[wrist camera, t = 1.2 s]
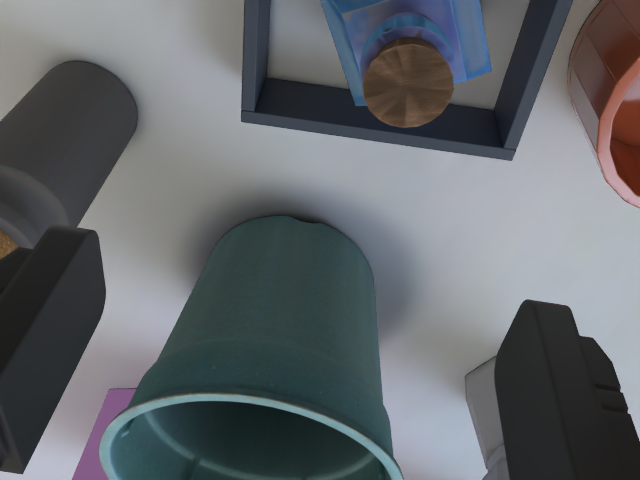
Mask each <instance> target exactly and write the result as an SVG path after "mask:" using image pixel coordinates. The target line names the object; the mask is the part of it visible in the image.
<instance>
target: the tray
mask: <svg viewBox="0 0 640 480" xmlns="http://www.w3.org/2000/svg"><path fill="white" fill-rule="evenodd" d="M572 2H573V0H531V1H530V4H529V7H528V10H527V13H526V16H525V19H524V22H523V25H522V28H521V31H520V34H519V37H518V40H517V43H516V46H515V49H514V52H513V55H512V58H511V61H510V64H509V67H508V70H507V73H506V76H505V79H504V82H503V85H502V88H501V91H500V94H499V96H498V99H497V102H496V105H495V108H494V111H491V110H484V109H477V108H470V107H464V106H457V105H450V104H448V105H447V106H446V108H445V109H444V111H443V112H442V113H441V114H440V115H438V116H437V117H436V118H435V119H433V120H432V121H430V122H428V123H425V124H423V125H420V126H417V127H408V128H402V127H396V126H391V125H389V124H387V123H385V122H383V121H381V120H379V119H378V118H377V117H376V116H375V115H374V114H373V113H372V112H371V111H370V110H369V108H368V106H355V103H354V100H353V97H352V94H351V91H350V90H346V89H339V88H332V87H325V86H319V85H312V84H305V83H298V82H291V81H284V80H277V79H270V78H266V74H267V56H268V39H269V21H270V4H271V0H245V2H244V36H243V70H242V104H241V109H242V110H241V122H246V123H253V124H260V125H267V126H274V127H281V128H288V129H295V130H302V131H308V132H315V133H322V134H329V135H336V136H343V137H350V138H357V139H364V140H371V141H378V142H385V143H392V144H399V145H405V146H412V147H419V148H426V149H433V150H440V151H447V152H454V153H461V154H468V155H475V156H482V157H489V158H496V159H502V160H509V161H512V159H513V157H514V154H515V152H516V149H517V146H518V144H519V141H520V138H521V136H522V133H523V131H524V128H525V125H526V123H527V120H528V118H529V115H530V112H531V110H532V107H533V104H534V102H535V99H536V97H537V94H538V91H539V89H540V86H541V83H542V81H543V78H544V76H545V73H546V70H547V68H548V65H549V63H550V60H551V57H552V55H553V52H554V49H555V47H556V44H557V42H558V39H559V36H560V34H561V31H562V28H563V26H564V23H565V21H566V18H567V15H568V13H569V10H570V8H571V5H572Z"/></svg>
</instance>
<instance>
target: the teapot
mask: <svg viewBox="0 0 640 480" xmlns="http://www.w3.org/2000/svg"><path fill="white" fill-rule="evenodd" d="M135 391H136V389H109V391H108V394H107V396H106V399H105V401H104V403H103V406H102V408H101V411H100V413H99V415H98V418H97V420H96V423H95V425H94V427H93V430H92V432H91V435H90V437H89V439H88V442H87V444H86V447H85V449H84V451H83V454H82V456H81V459H80V461H79V463H78V466H77V468H76V471H75V473H74V475H73V478H72V480H109V478H108V477H107V475H106V473H105V472H104V470H103V468H102V466H101V463H100V459H99V444H100V440H101V437H102V435H103V433H104V431H105V429H106V428H107V426H108V425H109V424H110V422H111V421H112V420H113V419H114V418H115V417H116V416H117V415H118V414H119V413H120V412H121V411H123V410H124V409H125V408H127V406H128V405H129V403H130V401H131V399H132V397H133V395H134V393H135Z"/></svg>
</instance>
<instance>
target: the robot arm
mask: <svg viewBox="0 0 640 480" xmlns="http://www.w3.org/2000/svg"><path fill="white" fill-rule="evenodd" d="M105 298H106V287H105V279H104V272H103V265H102V258H101V251H100V244H99V238H98V234H97V233H96V231H94V230H89V229H83V228H76V227H70V226H63V225H57V224H53V225H51V226H50V227H48V229H47V230H46V231H45V233H44V234H43V235H42V237H41V238H40V240H39V241H38V243H37V244H36V245H35V247H34V248H33V249H28V248H22V247H18V248H17V249H15V250H14V251H12V252H11V253H9V254H8V255H6V256H5V257H3V258H2V259H0V471H4V472H11V473H17V474H23V472H24V470H25V468H26V466H27V465H28V463H29V461H30V459H31V457H32V455H33V453H34V451H35V449H36V447H37V445H38V443H39V441H40V439H41V437H42V435H43V433H44V431H45V429H46V427H47V425H48V423H49V421H50V419H51V417H52V415H53V413H54V411H55V409H56V407H57V405H58V403H59V401H60V399H61V397H62V395H63V393H64V391H65V389H66V387H67V385H68V383H69V381H70V379H71V377H72V375H73V373H74V371H75V369H76V367H77V365H78V363H79V361H80V359H81V357H82V355H83V353H84V351H85V349H86V347H87V345H88V343H89V341H90V339H91V337H92V335H93V333H94V331H95V329H96V327H97V325H98V323H99V321H100V318H101V316H102V313H103V309H104V304H105ZM494 383H495V390H496V396H497V402H498V409H499V415H500V421H501V428H502V434H503V441H504V447H505V453H506V460H507V466H508V472H509V479H510V480H640V441H639V438H638V435H637V432H636V430H635V427H634V424H633V421H632V418H631V415H630V414H628V412H627V411H628V407H627V404H626V401H625V398H624V395H623V393H621V392H620V388H621V387H620V384H619V381H618V378H617V375H616V372H615V369H614V367H613V364H612V362H611V360H610V359H609V358H608V356H607V355H606V354H605V353H604V351H603V350H602V349H601V348H600V346H599V345H598V344H597V343H596V341H595V340H594V339H593V338H590V337H583V336H579V333H578V330H577V327H576V323H575V320H574V317H573V314H572V311H571V309H570V308H569V307H568V306H566V305H560V304H554V303H547V302H541V301H534V300H525V301H524V302H523V303H522V304H521V306H520V308H519V310H518V312H517V314H516V316H515V318H514V320H513V322H512V324H511V326H510V328H509V330H508V332H507V334H506V336H505V338H504V340H503V343H502V345H501V347H500V349H499V351H498V354H497V357H496V362H495V369H494Z"/></svg>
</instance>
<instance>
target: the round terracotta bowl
mask: <svg viewBox="0 0 640 480" xmlns="http://www.w3.org/2000/svg"><path fill="white" fill-rule="evenodd" d="M567 82H568V91H569V96H570V99H571V103H572V106H573V108H574V110H575V113H576V116H577V119H578V121H579V124H580V126H581V128H582V130H583V133H584V135H585V137H586V139H587V141H588V144H589V146H590V148H591V150H592V152H593V155H594V157H595V159H596V161H597V163H598V166H599V168H600V170H601V172H602V174H603V177H604V179H605V180H606V182H607V183H608V184H609V185H610V186H611V187H612V188H613V189H614V190H615V191H616V192H617V193H618V195H619V196H620V197H621V198H622V199H623V200H624V201H626V202H627V203H630V204H632V205H634V206H636V207H638V208H640V0H601V2H600V3H599V4H598V5H597V7H596V8H595V9H594V10H593V12H592V13H591V14H590V16H589V17H588V19H587V20H586V22H585V24H584V25H583V27H582V28H581V30H580V33H579V35H578V37H577V39H576V41H575V44H574V47H573V50H572V53H571V56H570V61H569V66H568V80H567Z"/></svg>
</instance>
